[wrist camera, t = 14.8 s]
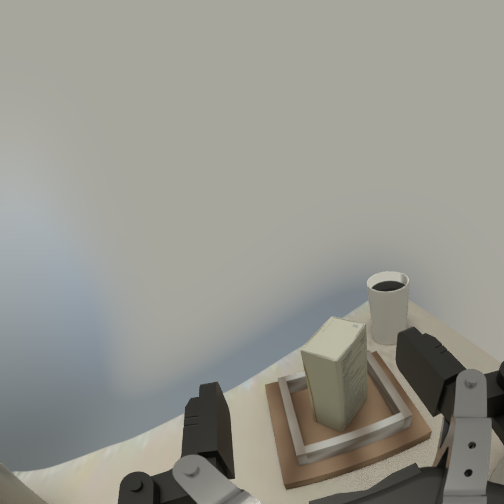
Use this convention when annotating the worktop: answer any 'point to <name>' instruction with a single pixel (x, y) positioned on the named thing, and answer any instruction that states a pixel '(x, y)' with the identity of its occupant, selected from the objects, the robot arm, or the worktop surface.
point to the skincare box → (336, 371)
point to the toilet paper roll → (498, 474)
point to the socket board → (354, 435)
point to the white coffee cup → (388, 305)
